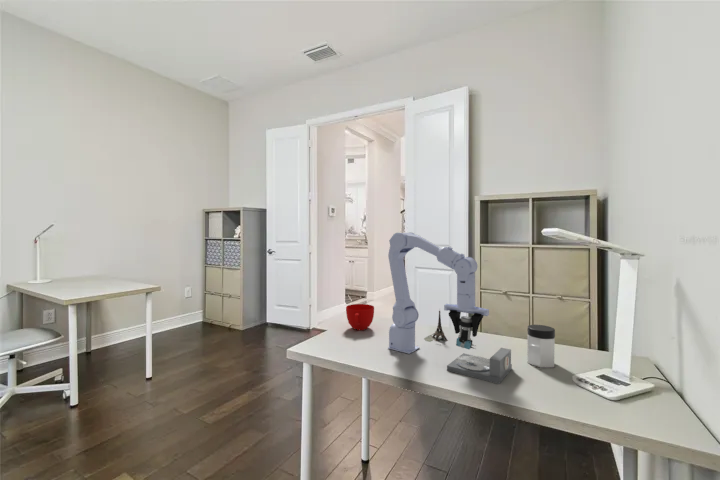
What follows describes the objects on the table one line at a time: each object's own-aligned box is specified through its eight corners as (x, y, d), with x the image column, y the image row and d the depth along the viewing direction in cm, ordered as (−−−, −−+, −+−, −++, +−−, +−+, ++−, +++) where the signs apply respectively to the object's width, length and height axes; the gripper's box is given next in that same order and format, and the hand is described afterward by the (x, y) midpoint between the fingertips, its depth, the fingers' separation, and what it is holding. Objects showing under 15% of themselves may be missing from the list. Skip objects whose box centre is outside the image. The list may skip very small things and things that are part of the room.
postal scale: (446, 370, 108) (447, 350, 108) (463, 357, 119) (463, 339, 119) (500, 384, 98) (501, 362, 97) (513, 369, 109) (513, 349, 108)
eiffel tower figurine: (435, 333, 149) (435, 303, 149) (457, 337, 143) (457, 306, 143) (419, 342, 138) (419, 309, 137) (442, 347, 131) (442, 313, 131)
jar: (547, 358, 118) (547, 324, 117) (561, 368, 109) (561, 331, 109) (521, 358, 118) (521, 324, 117) (533, 367, 110) (533, 331, 109)
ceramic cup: (341, 334, 146) (341, 311, 146) (349, 324, 163) (349, 303, 163) (371, 335, 144) (371, 312, 144) (375, 325, 161) (375, 304, 160)
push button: (478, 348, 113) (481, 319, 112) (472, 352, 109) (475, 322, 108) (458, 342, 117) (461, 314, 116) (453, 346, 113) (455, 317, 112)
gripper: (491, 294, 111) (491, 335, 111) (449, 290, 120) (450, 328, 120) (485, 297, 105) (485, 340, 106) (441, 292, 114) (441, 332, 114)
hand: (465, 334), depth 112 cm, fingers closed on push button, 5 cm apart
